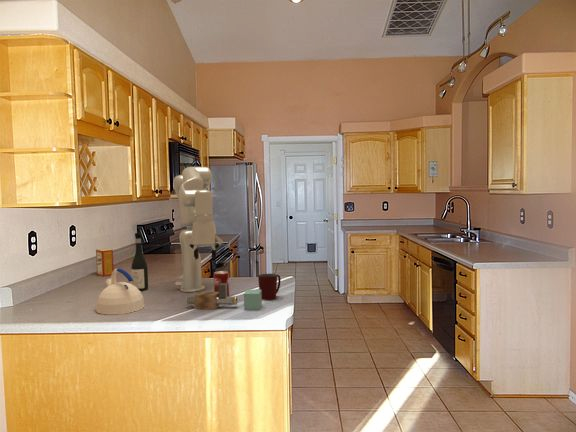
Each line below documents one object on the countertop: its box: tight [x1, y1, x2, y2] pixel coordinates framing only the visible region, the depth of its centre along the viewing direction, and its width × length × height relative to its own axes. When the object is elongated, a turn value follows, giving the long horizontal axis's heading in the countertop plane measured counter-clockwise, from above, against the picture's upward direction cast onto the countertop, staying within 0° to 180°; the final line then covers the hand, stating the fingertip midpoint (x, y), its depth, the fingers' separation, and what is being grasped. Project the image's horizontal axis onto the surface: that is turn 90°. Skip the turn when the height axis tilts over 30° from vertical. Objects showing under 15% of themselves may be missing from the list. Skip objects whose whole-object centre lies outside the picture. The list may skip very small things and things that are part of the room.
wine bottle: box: [130, 232, 149, 292], centre depth 236 cm, size 8×8×30 cm
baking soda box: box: [95, 248, 115, 277], centre depth 280 cm, size 10×6×16 cm
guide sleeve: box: [193, 291, 220, 310], centre depth 200 cm, size 10×6×6 cm
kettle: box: [95, 268, 145, 316], centre depth 201 cm, size 20×21×18 cm
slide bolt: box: [186, 283, 238, 306], centre depth 199 cm, size 22×3×9 cm, turn 85°
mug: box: [257, 273, 282, 301], centre depth 214 cm, size 12×9×11 cm
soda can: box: [213, 270, 230, 297], centre depth 218 cm, size 7×7×12 cm
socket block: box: [243, 289, 263, 311], centre depth 198 cm, size 6×8×7 cm
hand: (205, 258), depth 199 cm, fingers open, 6 cm apart
